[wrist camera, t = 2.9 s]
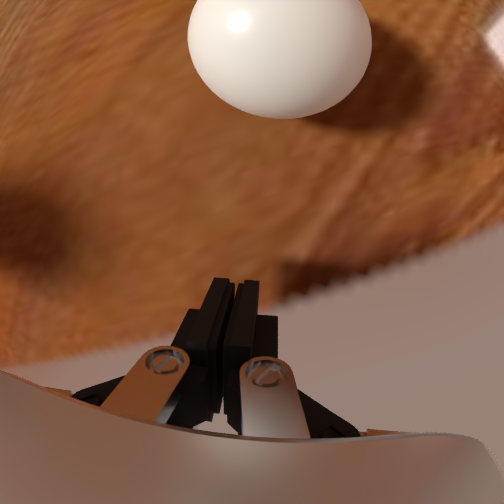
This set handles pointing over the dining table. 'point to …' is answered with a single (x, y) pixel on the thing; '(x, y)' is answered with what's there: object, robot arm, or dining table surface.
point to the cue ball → (280, 53)
